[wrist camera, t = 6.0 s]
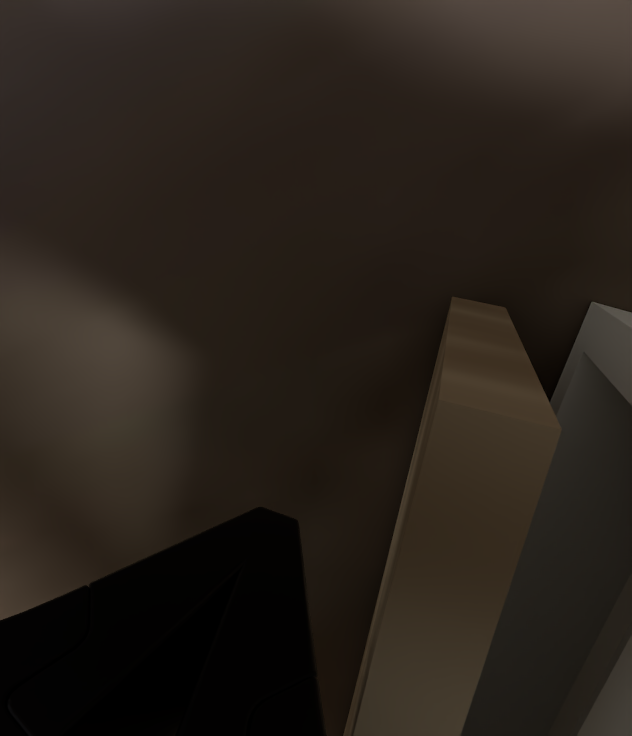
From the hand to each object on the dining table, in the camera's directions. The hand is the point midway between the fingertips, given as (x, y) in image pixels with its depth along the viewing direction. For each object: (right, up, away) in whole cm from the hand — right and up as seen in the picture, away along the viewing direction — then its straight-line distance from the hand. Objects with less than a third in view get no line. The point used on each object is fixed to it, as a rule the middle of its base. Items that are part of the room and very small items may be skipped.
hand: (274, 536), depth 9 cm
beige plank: (+2, -3, +4) cm, 6 cm away
